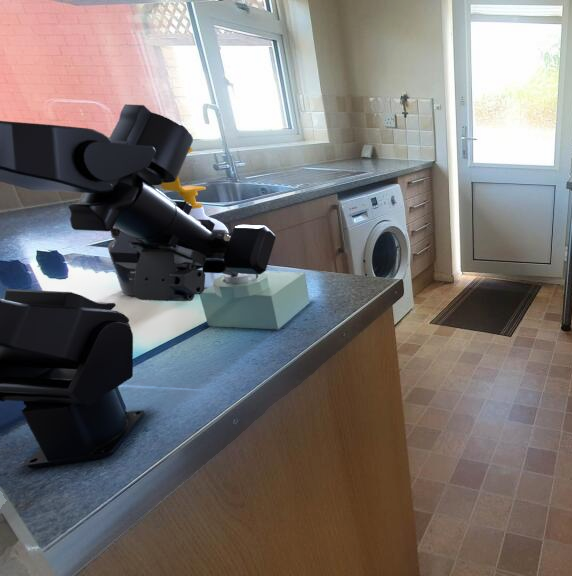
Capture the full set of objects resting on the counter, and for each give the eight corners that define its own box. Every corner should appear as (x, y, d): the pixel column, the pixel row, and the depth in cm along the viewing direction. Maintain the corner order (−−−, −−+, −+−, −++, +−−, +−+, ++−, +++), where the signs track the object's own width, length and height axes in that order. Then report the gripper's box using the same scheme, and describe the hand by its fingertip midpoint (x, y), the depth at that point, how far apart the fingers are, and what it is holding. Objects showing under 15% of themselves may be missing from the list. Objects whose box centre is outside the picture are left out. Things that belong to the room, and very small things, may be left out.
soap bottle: (249, 275, 83) (220, 147, 73) (208, 291, 75) (170, 151, 65) (213, 269, 85) (181, 145, 75) (169, 285, 77) (127, 147, 67)
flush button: (247, 291, 61) (244, 278, 60) (220, 289, 61) (217, 276, 60) (263, 281, 64) (260, 268, 63) (238, 279, 64) (235, 267, 63)
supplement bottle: (144, 298, 71) (121, 231, 66) (112, 294, 72) (88, 228, 68) (181, 284, 77) (162, 222, 73) (151, 280, 78) (131, 219, 74)
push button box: (273, 334, 62) (263, 288, 59) (201, 330, 62) (187, 284, 59) (310, 302, 72) (303, 262, 69) (248, 299, 72) (239, 259, 69)
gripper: (35, 277, 43) (154, 321, 58) (207, 286, 43) (283, 327, 58) (81, 190, 48) (181, 251, 62) (239, 197, 47) (302, 257, 62)
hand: (236, 272), depth 61 cm, fingers closed, pressing on flush button
